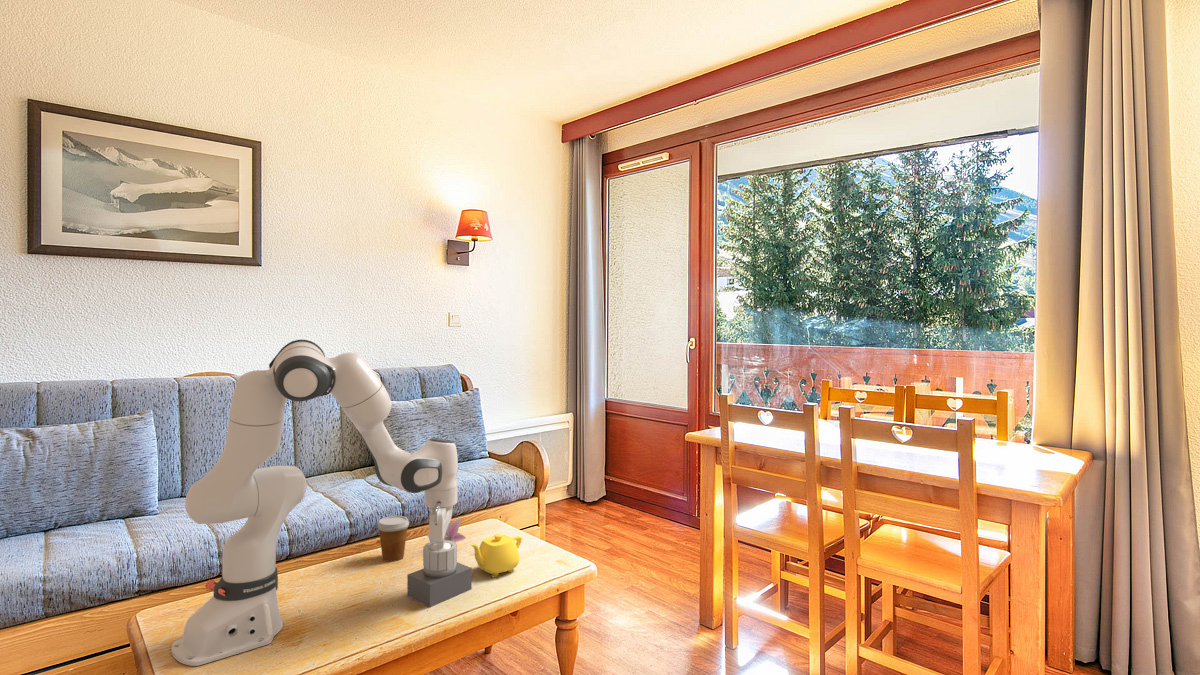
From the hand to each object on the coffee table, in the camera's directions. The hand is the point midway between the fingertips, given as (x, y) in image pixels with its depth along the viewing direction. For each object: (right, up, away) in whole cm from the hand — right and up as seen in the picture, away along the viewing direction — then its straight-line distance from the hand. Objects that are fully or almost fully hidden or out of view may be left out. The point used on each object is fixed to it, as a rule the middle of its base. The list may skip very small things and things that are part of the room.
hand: (440, 546), depth 168 cm
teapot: (+13, -13, +16) cm, 24 cm away
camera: (0, -13, +1) cm, 13 cm away
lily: (-6, -12, +31) cm, 34 cm away
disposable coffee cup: (-21, -12, +24) cm, 35 cm away
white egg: (0, -5, +1) cm, 5 cm away
